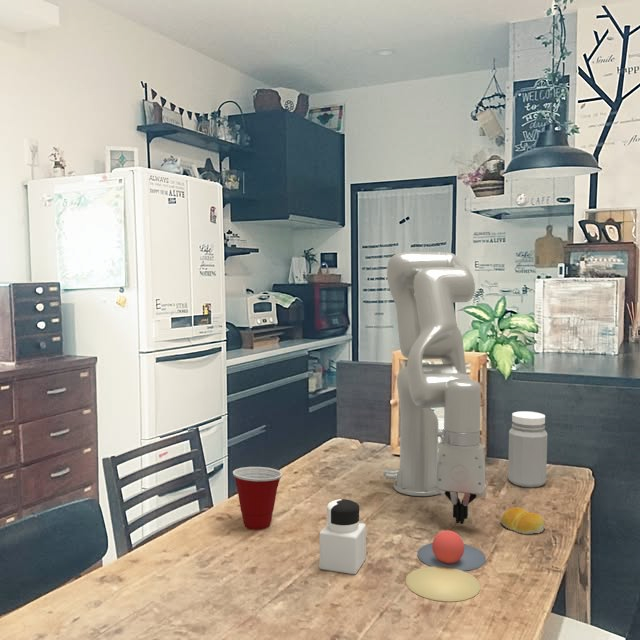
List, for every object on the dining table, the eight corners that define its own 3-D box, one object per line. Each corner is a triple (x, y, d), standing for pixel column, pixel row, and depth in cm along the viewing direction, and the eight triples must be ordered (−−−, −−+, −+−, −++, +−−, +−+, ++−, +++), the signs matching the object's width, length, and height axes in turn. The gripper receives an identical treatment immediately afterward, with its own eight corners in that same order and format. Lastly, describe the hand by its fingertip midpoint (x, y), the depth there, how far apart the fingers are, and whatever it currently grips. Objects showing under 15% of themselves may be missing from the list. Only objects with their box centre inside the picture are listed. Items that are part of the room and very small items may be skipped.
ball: (429, 537, 126) (435, 522, 131) (429, 566, 127) (434, 550, 133) (462, 542, 124) (466, 527, 130) (461, 572, 125) (465, 555, 131)
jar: (550, 480, 178) (552, 413, 177) (540, 491, 170) (542, 420, 168) (513, 474, 183) (515, 409, 182) (502, 484, 175) (504, 415, 174)
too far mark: (399, 594, 116) (399, 593, 116) (412, 563, 128) (412, 562, 128) (476, 606, 112) (476, 605, 112) (483, 573, 124) (483, 572, 124)
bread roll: (531, 539, 140) (532, 520, 140) (495, 526, 147) (495, 508, 147) (552, 529, 146) (553, 511, 145) (516, 517, 152) (517, 500, 152)
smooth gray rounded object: (411, 565, 127) (411, 564, 127) (423, 539, 139) (423, 538, 139) (482, 575, 123) (482, 574, 123) (488, 547, 135) (488, 546, 135)
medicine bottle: (366, 559, 130) (366, 498, 129) (355, 575, 123) (356, 511, 122) (330, 554, 132) (331, 494, 131) (318, 569, 125) (319, 506, 124)
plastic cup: (293, 524, 147) (293, 470, 146) (255, 539, 139) (255, 482, 138) (259, 512, 155) (259, 460, 154) (222, 525, 147) (222, 471, 146)
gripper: (423, 439, 143) (422, 523, 144) (496, 444, 138) (494, 532, 139) (429, 430, 150) (428, 511, 151) (499, 436, 145) (497, 519, 147)
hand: (460, 521), depth 145 cm, fingers closed
